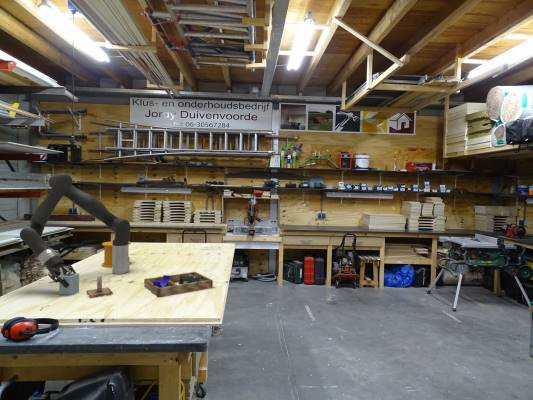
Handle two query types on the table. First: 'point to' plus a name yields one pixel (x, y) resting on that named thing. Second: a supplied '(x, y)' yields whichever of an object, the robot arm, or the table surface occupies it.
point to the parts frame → (176, 288)
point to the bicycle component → (189, 279)
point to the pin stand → (99, 290)
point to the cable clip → (162, 282)
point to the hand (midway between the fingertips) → (72, 284)
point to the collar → (70, 284)
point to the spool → (108, 254)
